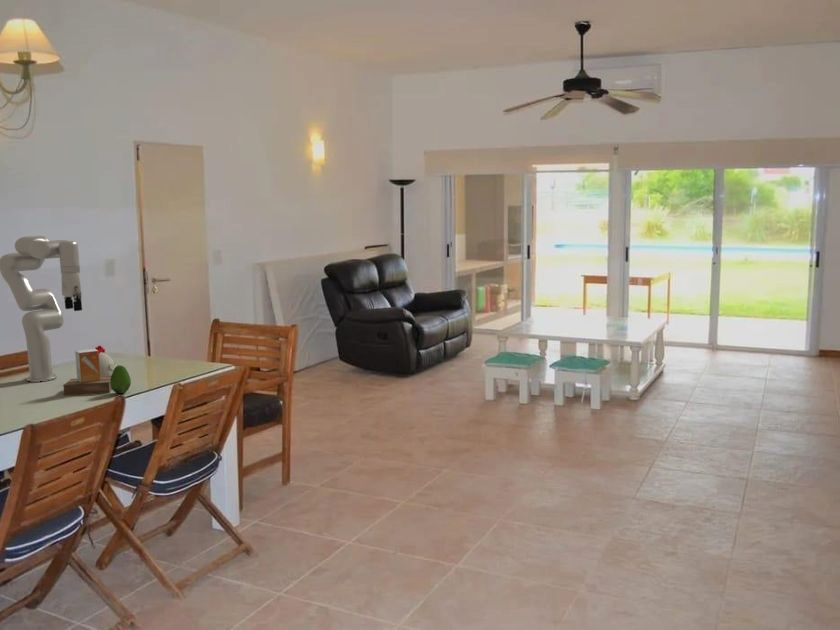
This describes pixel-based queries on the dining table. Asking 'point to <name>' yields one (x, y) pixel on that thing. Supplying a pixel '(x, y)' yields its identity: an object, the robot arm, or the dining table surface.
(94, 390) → the walnut riser block
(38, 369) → the robot arm
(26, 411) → the dining table surface
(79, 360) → the small box
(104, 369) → the white chicken figurine
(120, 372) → the fruit
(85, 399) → the dining table surface
